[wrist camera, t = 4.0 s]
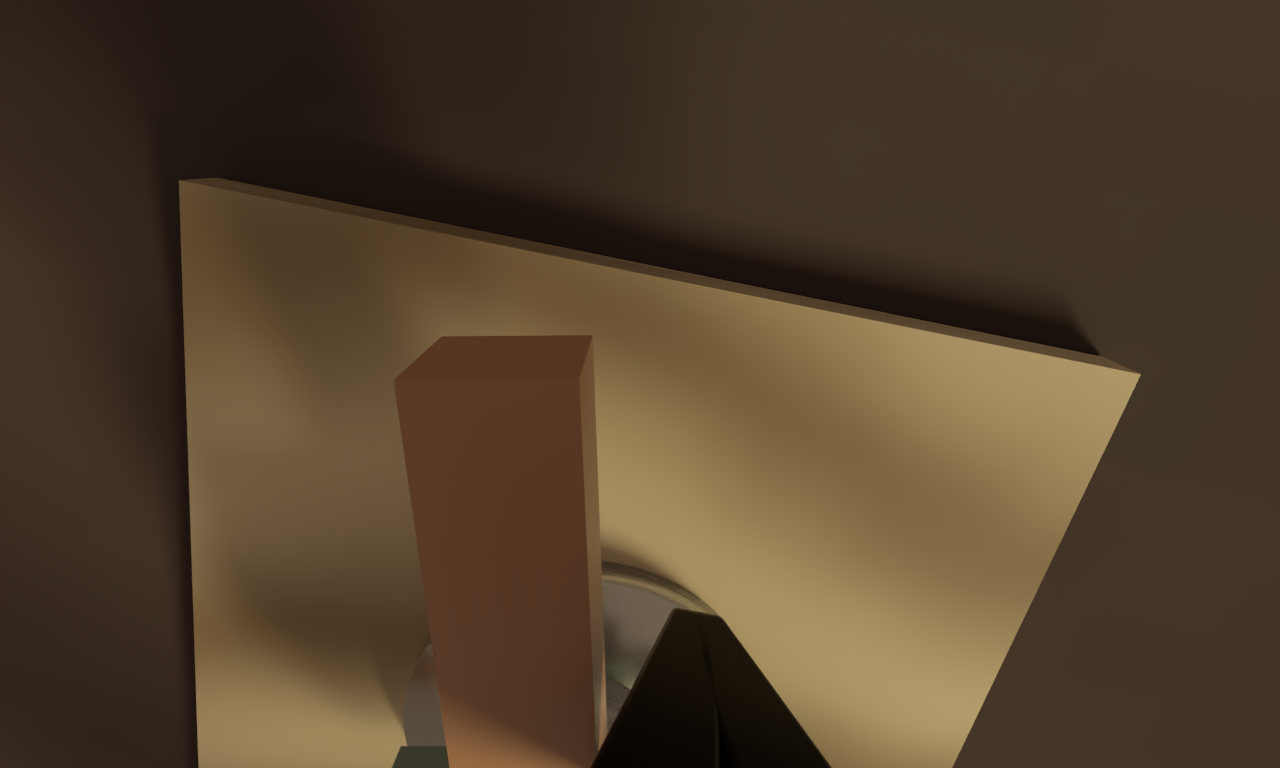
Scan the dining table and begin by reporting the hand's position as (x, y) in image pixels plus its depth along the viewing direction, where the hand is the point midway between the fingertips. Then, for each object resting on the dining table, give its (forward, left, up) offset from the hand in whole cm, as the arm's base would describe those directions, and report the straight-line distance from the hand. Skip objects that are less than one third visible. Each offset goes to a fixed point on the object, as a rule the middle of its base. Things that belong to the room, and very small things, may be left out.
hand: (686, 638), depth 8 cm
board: (-5, +1, -5) cm, 8 cm away
